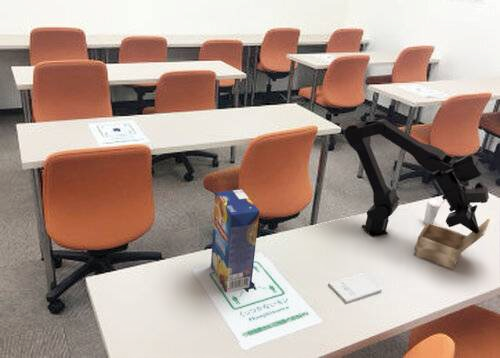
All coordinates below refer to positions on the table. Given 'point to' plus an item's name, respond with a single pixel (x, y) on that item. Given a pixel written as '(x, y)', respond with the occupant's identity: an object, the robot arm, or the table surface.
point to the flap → (475, 236)
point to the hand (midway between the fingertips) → (477, 232)
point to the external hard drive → (354, 287)
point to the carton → (439, 245)
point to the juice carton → (234, 239)
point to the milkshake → (431, 211)
